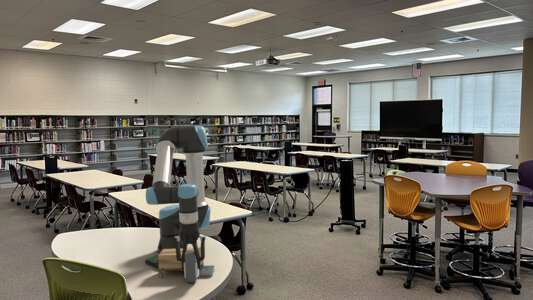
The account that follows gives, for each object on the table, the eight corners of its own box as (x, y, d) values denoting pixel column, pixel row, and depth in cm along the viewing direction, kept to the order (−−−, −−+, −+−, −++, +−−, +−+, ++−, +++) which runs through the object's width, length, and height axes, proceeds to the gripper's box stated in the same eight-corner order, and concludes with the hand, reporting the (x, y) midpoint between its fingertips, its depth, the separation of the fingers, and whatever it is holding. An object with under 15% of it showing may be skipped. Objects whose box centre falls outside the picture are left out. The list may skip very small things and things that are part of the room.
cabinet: (164, 270, 177) (163, 246, 176) (203, 269, 177) (202, 245, 176) (159, 277, 169) (157, 252, 168) (200, 276, 169) (199, 251, 168)
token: (201, 271, 175) (201, 265, 175) (214, 271, 175) (214, 265, 174) (198, 277, 169) (198, 270, 169) (212, 277, 169) (212, 270, 168)
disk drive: (180, 265, 184) (163, 258, 195) (180, 259, 184) (163, 252, 194) (161, 272, 177) (144, 264, 187) (161, 266, 177) (144, 258, 187)
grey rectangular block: (193, 269, 174) (191, 243, 173) (201, 269, 174) (200, 243, 173) (186, 282, 161) (184, 254, 160) (195, 282, 161) (194, 253, 160)
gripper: (165, 224, 158) (169, 280, 160) (207, 223, 157) (210, 279, 159) (171, 219, 165) (174, 273, 167) (211, 218, 164) (213, 272, 166)
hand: (191, 276), depth 163 cm, fingers closed on grey rectangular block, 4 cm apart
